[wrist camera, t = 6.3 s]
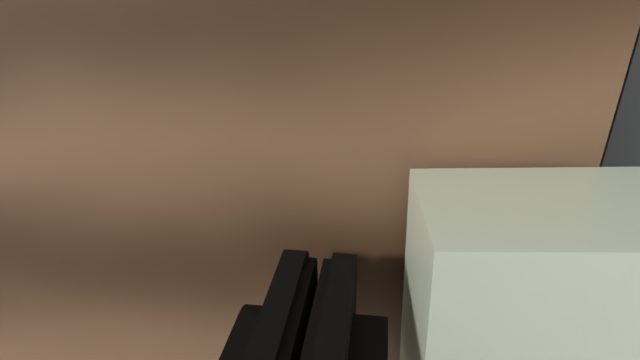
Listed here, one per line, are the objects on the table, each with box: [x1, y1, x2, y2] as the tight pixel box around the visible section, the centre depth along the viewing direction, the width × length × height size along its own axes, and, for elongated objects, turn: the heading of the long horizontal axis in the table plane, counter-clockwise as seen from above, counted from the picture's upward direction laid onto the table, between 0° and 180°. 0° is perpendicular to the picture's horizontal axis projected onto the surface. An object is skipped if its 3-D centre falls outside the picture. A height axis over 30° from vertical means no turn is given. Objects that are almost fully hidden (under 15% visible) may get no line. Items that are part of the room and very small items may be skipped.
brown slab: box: [0, 0, 640, 360], centre depth 15 cm, size 18×20×6 cm
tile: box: [399, 167, 640, 360], centre depth 9 cm, size 6×6×3 cm
